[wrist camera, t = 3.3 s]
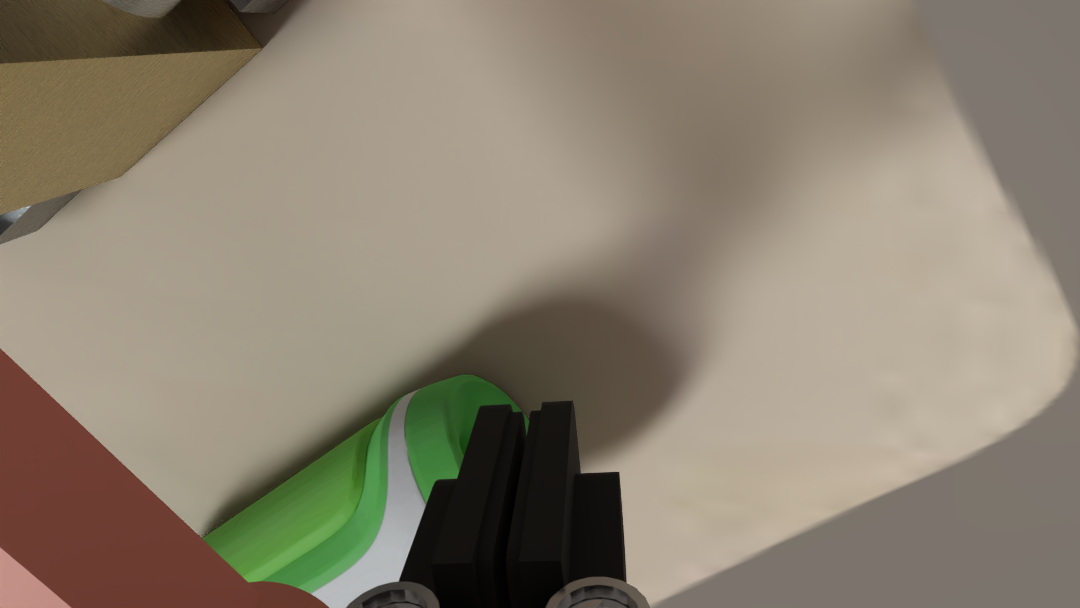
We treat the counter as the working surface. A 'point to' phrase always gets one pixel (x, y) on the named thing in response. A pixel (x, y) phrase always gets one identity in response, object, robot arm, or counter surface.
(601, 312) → the counter surface
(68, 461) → the lever
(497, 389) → the speaker
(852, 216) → the counter surface
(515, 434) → the robot arm
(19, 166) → the pipe valve
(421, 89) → the counter surface
